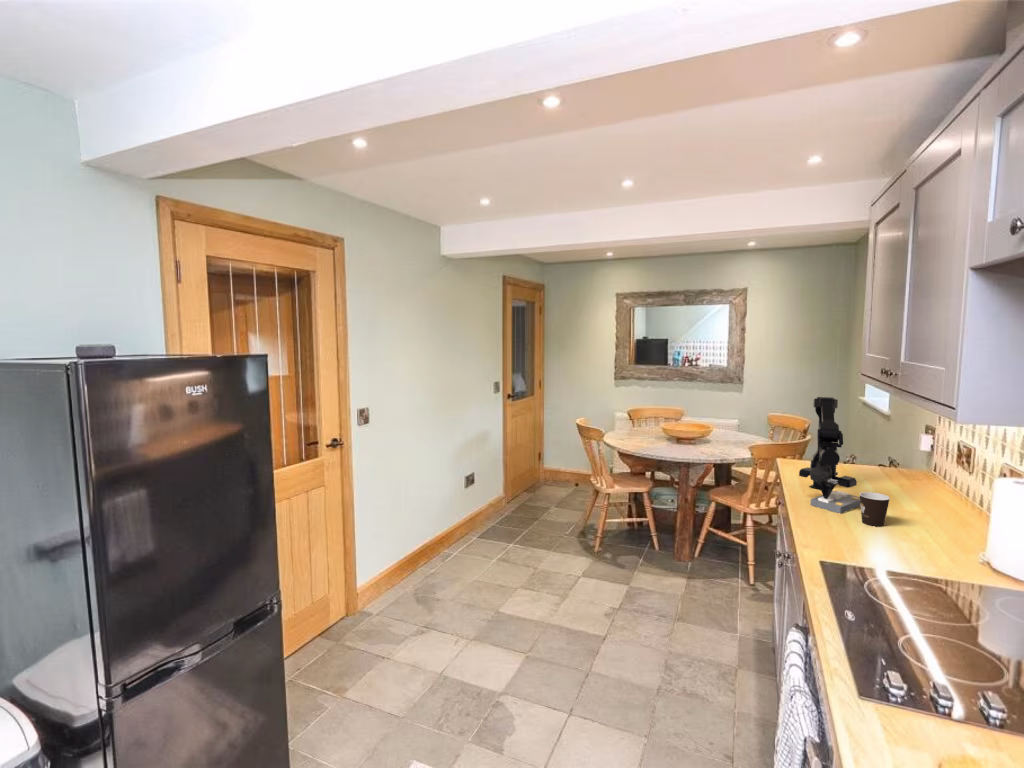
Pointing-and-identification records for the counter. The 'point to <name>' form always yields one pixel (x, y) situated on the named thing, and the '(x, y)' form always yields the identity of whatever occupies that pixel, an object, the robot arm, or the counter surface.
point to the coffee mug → (873, 508)
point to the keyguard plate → (838, 504)
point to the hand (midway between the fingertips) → (825, 498)
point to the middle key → (835, 495)
